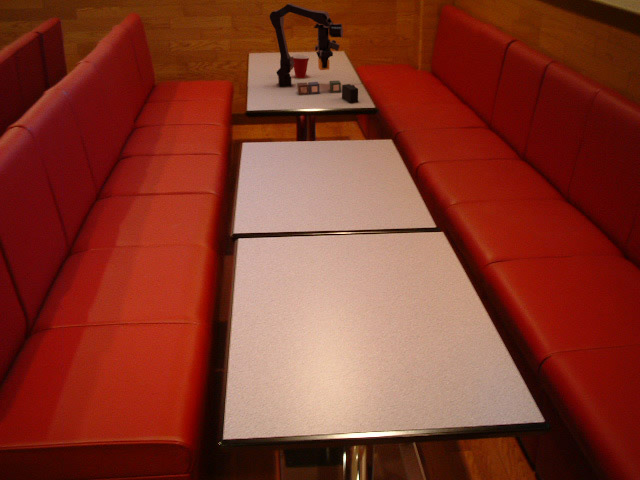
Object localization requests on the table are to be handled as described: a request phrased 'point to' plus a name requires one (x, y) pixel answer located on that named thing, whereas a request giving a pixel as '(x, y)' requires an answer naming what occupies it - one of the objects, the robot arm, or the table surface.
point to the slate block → (313, 87)
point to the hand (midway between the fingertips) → (323, 66)
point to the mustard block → (322, 65)
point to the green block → (335, 86)
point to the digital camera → (350, 93)
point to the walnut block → (302, 88)
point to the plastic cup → (300, 65)
